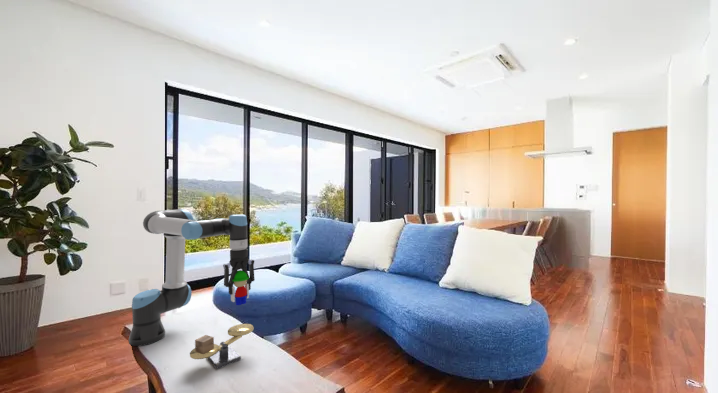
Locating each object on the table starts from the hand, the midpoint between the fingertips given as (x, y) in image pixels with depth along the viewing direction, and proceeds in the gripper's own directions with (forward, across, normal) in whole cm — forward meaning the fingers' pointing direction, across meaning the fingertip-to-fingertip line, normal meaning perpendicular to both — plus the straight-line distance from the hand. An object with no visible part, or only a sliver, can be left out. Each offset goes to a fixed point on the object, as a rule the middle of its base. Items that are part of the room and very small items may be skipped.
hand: (240, 299), depth 140 cm
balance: (+25, -8, 0) cm, 26 cm away
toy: (+2, 0, 0) cm, 2 cm away
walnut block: (+18, -15, 0) cm, 24 cm away
